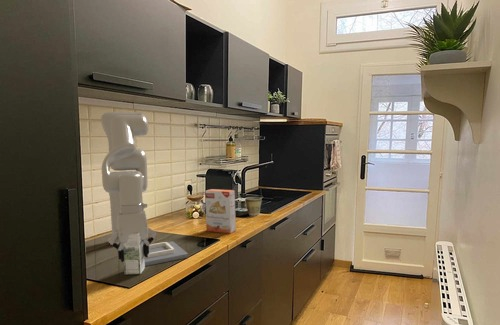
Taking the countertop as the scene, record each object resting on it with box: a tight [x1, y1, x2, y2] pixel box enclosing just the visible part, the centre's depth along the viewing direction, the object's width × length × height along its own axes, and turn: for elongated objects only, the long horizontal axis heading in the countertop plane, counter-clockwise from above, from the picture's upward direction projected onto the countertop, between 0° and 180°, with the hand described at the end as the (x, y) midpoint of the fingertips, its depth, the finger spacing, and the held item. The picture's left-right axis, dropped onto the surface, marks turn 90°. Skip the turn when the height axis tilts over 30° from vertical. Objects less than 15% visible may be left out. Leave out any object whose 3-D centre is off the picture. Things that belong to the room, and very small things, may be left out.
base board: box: [144, 241, 189, 267], centre depth 137 cm, size 20×20×3 cm
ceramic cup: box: [245, 196, 263, 217], centre depth 209 cm, size 13×10×10 cm
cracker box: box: [204, 188, 237, 235], centre depth 171 cm, size 14×6×21 cm, turn 65°
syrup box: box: [122, 232, 146, 276], centre depth 120 cm, size 6×6×14 cm
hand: (134, 258), depth 120 cm, fingers closed on syrup box, 7 cm apart
